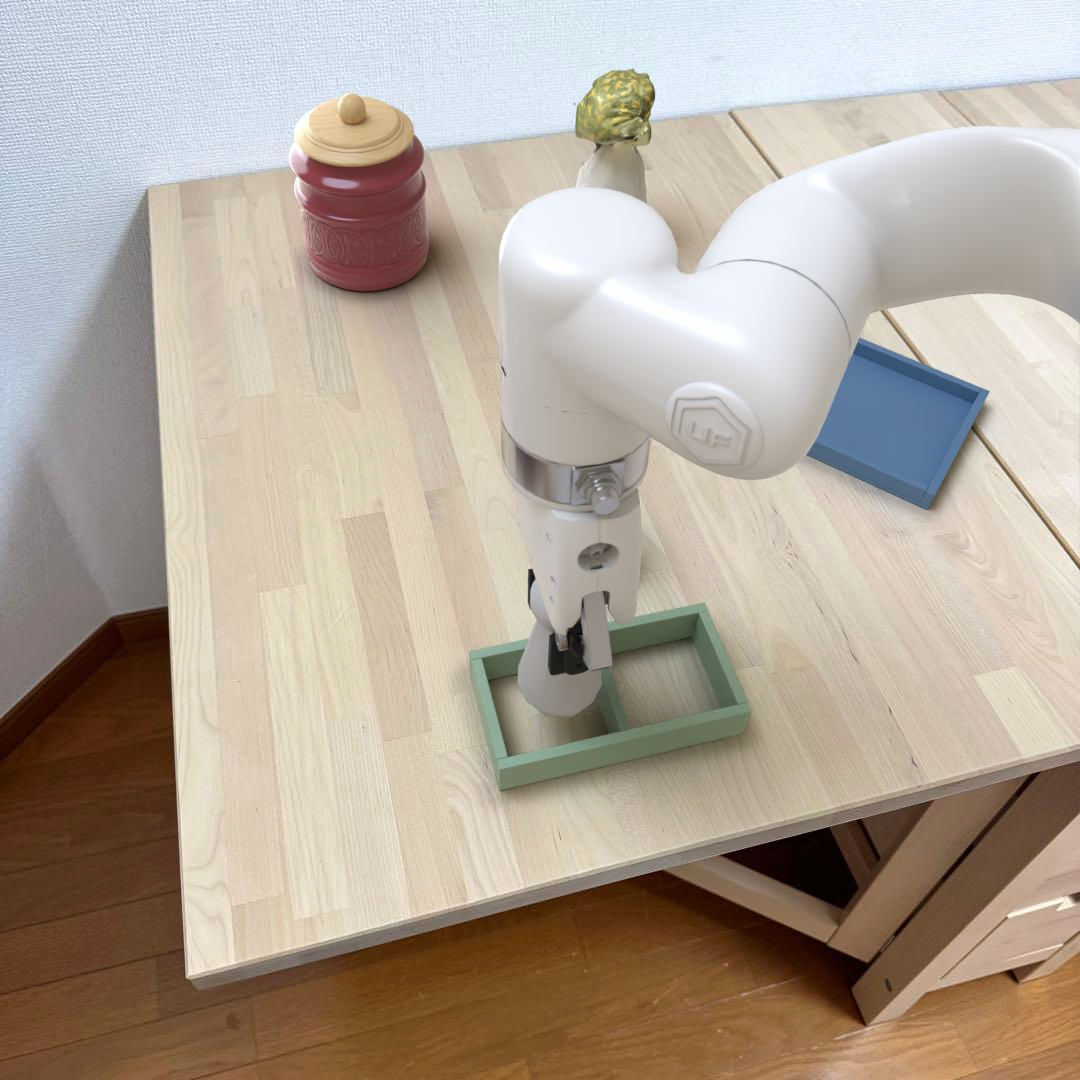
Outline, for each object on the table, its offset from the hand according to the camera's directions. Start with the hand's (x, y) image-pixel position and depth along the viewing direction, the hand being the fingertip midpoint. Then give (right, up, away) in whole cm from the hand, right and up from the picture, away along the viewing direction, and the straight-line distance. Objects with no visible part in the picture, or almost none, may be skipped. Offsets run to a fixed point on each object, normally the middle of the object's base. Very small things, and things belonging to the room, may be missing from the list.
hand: (562, 633), depth 64 cm
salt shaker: (0, -5, +6) cm, 8 cm away
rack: (+3, -6, +10) cm, 13 cm away
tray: (+28, +18, +30) cm, 45 cm away
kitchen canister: (-20, +36, +42) cm, 59 cm away
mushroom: (+6, +39, +45) cm, 60 cm away
